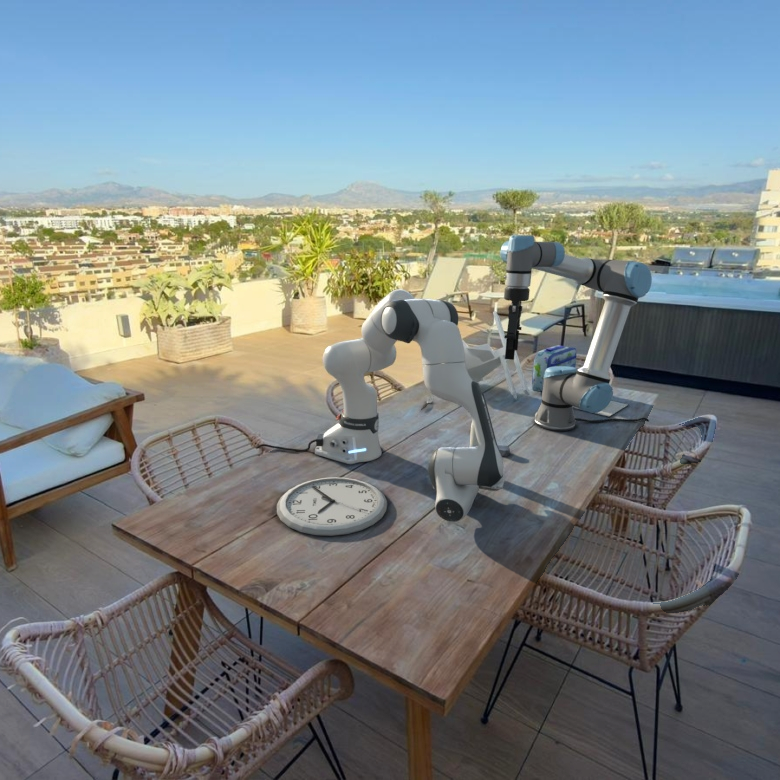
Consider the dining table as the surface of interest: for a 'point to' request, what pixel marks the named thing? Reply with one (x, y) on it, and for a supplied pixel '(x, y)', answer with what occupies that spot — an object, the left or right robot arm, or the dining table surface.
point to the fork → (428, 402)
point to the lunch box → (551, 363)
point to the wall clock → (331, 506)
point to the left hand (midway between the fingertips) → (473, 463)
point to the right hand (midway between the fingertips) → (511, 354)
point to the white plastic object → (492, 361)
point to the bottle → (473, 437)
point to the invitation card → (611, 408)
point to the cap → (504, 450)
